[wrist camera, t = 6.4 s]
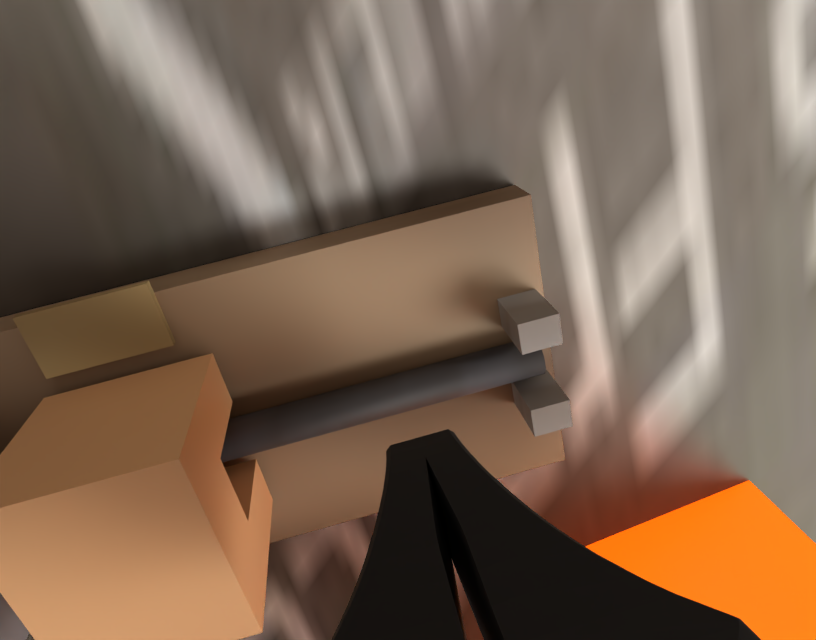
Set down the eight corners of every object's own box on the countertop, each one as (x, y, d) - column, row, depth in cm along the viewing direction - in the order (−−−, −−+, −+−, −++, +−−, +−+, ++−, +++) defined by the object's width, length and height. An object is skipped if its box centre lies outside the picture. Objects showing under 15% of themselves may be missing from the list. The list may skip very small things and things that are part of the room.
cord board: (551, 443, 19) (633, 574, 14) (8, 596, 18) (-98, 790, 13) (513, 173, 15) (607, 226, 10) (-172, 349, 14) (-410, 494, 9)
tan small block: (272, 499, 16) (262, 632, 12) (125, 540, 16) (70, 688, 12) (212, 353, 14) (178, 459, 10) (43, 397, 14) (-52, 522, 10)
